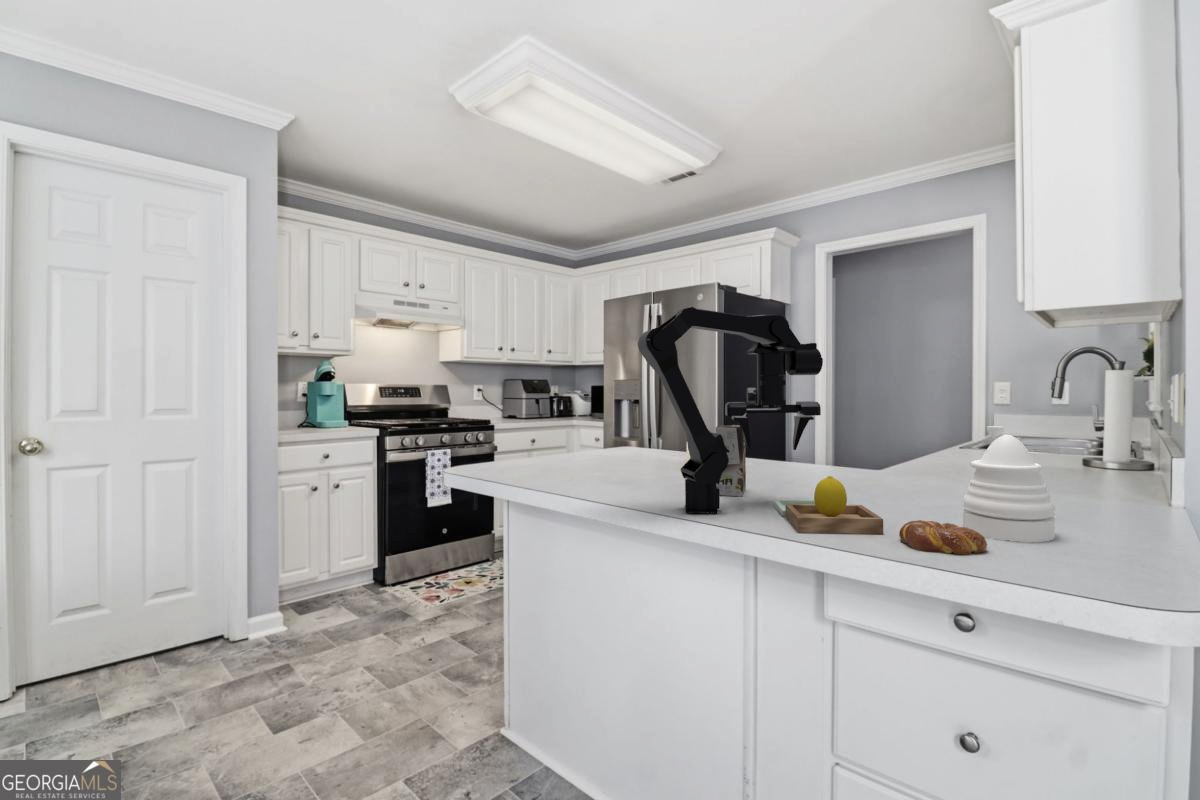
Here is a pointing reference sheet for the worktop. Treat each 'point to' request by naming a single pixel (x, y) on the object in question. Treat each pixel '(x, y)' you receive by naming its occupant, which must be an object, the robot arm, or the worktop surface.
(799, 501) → the dish
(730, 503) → the worktop surface
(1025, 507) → the honey pot
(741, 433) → the coffee box
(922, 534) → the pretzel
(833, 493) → the lemon
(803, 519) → the tray
